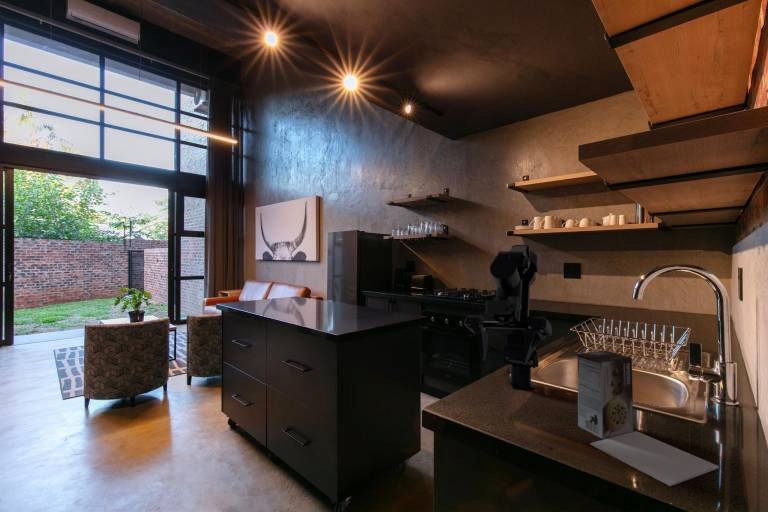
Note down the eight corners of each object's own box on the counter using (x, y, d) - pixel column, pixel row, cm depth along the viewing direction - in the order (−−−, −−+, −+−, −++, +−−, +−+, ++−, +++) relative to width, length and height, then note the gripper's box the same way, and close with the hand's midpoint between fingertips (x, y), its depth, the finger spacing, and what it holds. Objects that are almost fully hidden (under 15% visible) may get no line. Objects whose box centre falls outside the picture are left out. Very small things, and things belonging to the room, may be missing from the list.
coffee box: (606, 420, 81) (605, 350, 81) (634, 433, 74) (633, 357, 75) (576, 426, 77) (576, 353, 78) (603, 439, 71) (602, 360, 72)
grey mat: (590, 444, 69) (590, 443, 69) (636, 432, 75) (636, 431, 75) (670, 486, 56) (670, 484, 56) (719, 468, 62) (719, 466, 62)
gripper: (459, 284, 85) (449, 347, 78) (540, 281, 74) (537, 355, 67) (476, 302, 93) (469, 361, 86) (553, 302, 81) (551, 369, 75)
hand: (503, 361), depth 78 cm, fingers open, 9 cm apart
